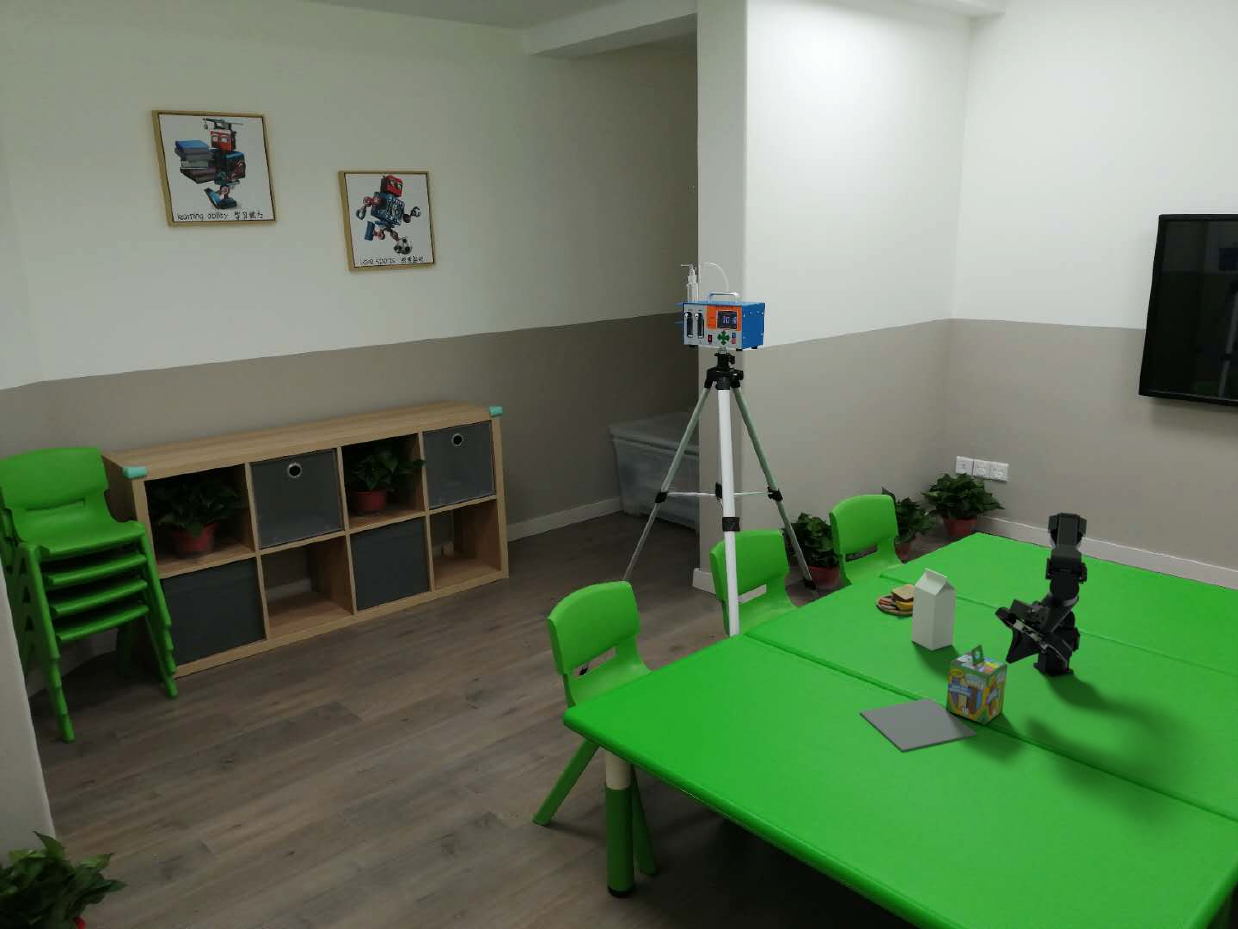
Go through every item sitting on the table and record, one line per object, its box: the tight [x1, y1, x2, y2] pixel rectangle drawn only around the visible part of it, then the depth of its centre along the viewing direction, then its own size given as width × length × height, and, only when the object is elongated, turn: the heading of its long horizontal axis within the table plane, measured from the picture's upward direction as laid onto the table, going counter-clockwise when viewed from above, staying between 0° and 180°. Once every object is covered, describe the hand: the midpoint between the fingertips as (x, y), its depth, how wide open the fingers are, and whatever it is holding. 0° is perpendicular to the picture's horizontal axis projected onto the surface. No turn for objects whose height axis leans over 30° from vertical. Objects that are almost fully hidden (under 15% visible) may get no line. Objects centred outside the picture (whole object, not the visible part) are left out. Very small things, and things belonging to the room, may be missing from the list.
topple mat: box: [859, 697, 978, 752], centre depth 201 cm, size 18×16×1 cm
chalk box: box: [945, 644, 1008, 725], centre depth 203 cm, size 9×9×15 cm
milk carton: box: [910, 568, 957, 652], centre depth 235 cm, size 7×7×19 cm
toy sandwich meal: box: [875, 583, 915, 616], centre depth 259 cm, size 12×14×5 cm
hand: (1007, 662), depth 204 cm, fingers closed
